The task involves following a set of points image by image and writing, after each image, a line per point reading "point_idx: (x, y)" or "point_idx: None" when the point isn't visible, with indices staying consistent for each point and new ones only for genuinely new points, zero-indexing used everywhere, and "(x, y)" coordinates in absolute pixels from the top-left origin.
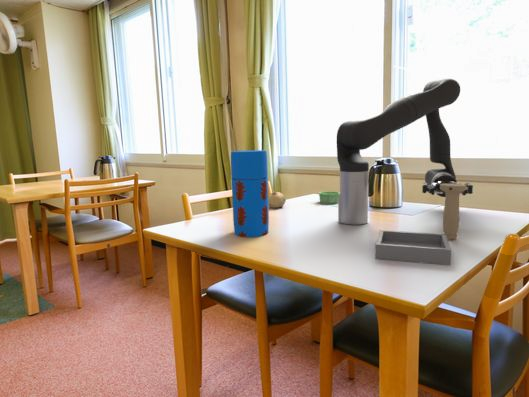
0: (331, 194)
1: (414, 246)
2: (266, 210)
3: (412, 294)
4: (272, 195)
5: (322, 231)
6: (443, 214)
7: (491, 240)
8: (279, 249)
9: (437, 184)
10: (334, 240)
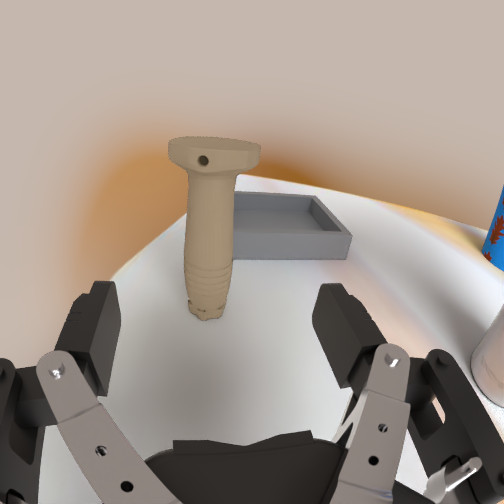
0: None
1: (265, 193)
2: (501, 225)
3: (248, 179)
4: None
5: (466, 289)
6: (232, 249)
7: None
8: (421, 225)
9: (357, 412)
10: (410, 256)
